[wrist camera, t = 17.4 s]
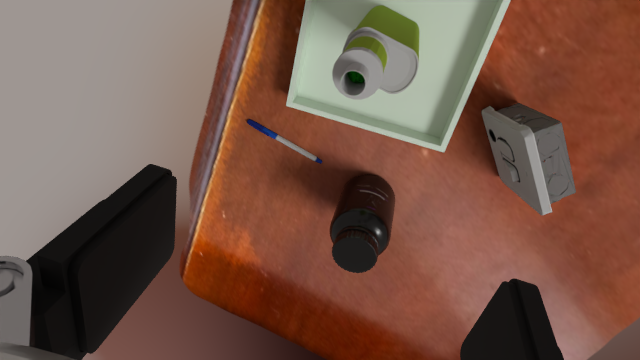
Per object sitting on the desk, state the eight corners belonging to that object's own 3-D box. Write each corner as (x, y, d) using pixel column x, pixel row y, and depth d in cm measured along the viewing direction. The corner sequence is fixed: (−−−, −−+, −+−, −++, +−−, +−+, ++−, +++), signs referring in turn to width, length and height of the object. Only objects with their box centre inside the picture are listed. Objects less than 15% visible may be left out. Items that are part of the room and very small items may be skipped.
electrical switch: (479, 106, 44) (502, 139, 36) (529, 88, 43) (565, 118, 35) (499, 179, 48) (524, 223, 40) (547, 164, 46) (583, 208, 38)
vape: (372, -1, 40) (336, 39, 23) (425, 27, 41) (428, 86, 24) (355, 34, 42) (310, 94, 25) (406, 61, 43) (396, 138, 26)
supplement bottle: (386, 167, 50) (378, 224, 40) (401, 212, 53) (396, 277, 43) (334, 178, 52) (313, 235, 42) (351, 221, 55) (335, 284, 45)
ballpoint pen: (247, 123, 51) (244, 126, 51) (249, 117, 51) (246, 120, 50) (321, 162, 52) (319, 166, 51) (324, 157, 51) (322, 161, 51)
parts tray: (332, -106, 38) (326, -110, 35) (527, -56, 36) (535, -56, 34) (293, 97, 48) (286, 105, 46) (442, 141, 47) (444, 152, 44)
